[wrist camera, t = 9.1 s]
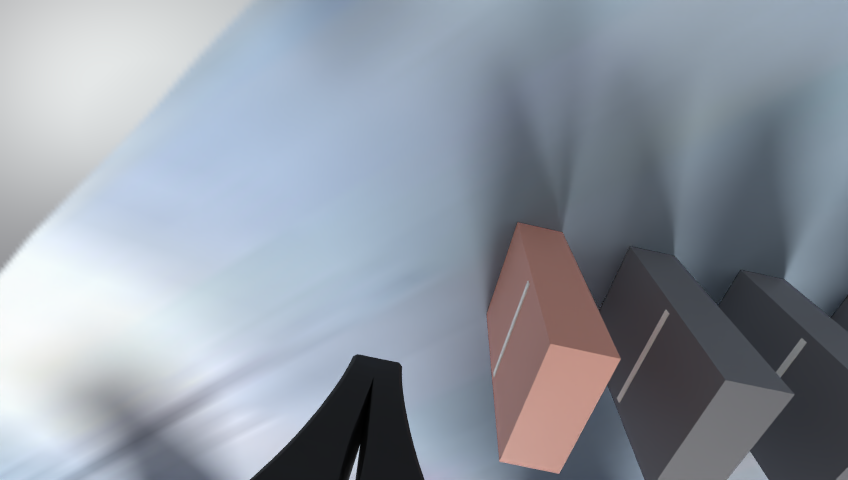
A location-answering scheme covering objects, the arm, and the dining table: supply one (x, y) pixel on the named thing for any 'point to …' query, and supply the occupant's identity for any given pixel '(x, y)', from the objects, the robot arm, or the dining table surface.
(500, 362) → the salmon end domino
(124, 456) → the dining table surface
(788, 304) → the domino
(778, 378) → the domino
